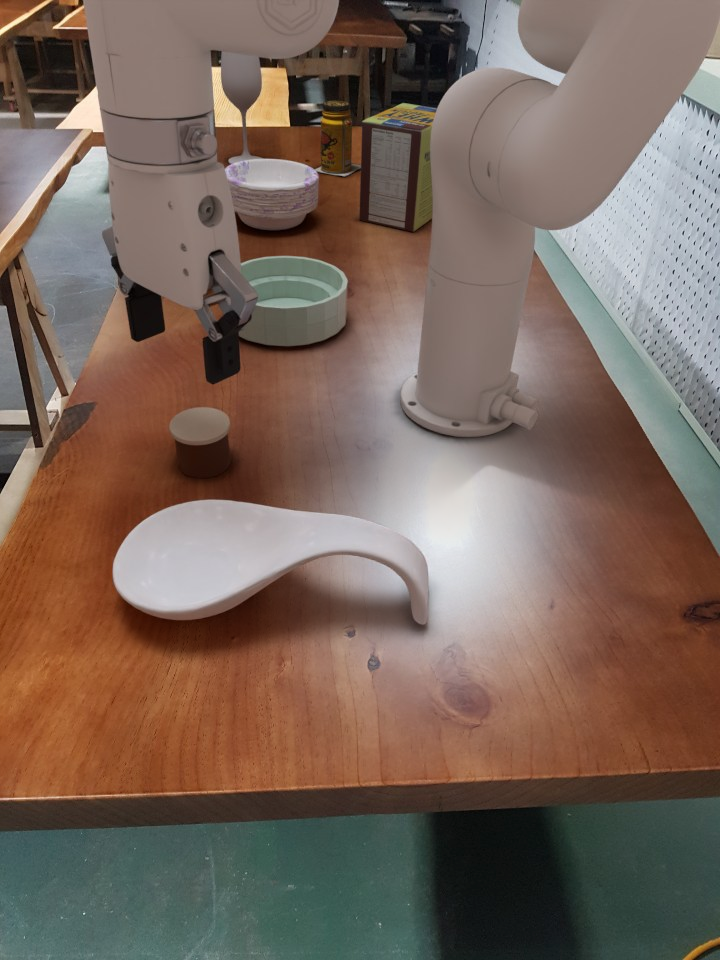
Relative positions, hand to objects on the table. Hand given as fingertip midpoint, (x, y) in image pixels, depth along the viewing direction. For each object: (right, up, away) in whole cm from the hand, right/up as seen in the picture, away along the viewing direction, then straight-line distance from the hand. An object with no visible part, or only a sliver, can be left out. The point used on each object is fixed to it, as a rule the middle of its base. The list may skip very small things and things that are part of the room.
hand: (184, 356), depth 60 cm
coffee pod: (0, -9, +7) cm, 12 cm away
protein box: (+22, +36, +63) cm, 76 cm away
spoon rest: (+8, -19, -5) cm, 21 cm away
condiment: (+10, +51, +82) cm, 98 cm away
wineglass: (-8, +54, +84) cm, 100 cm away
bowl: (+5, +10, +30) cm, 32 cm away
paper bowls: (0, +32, +58) cm, 67 cm away
